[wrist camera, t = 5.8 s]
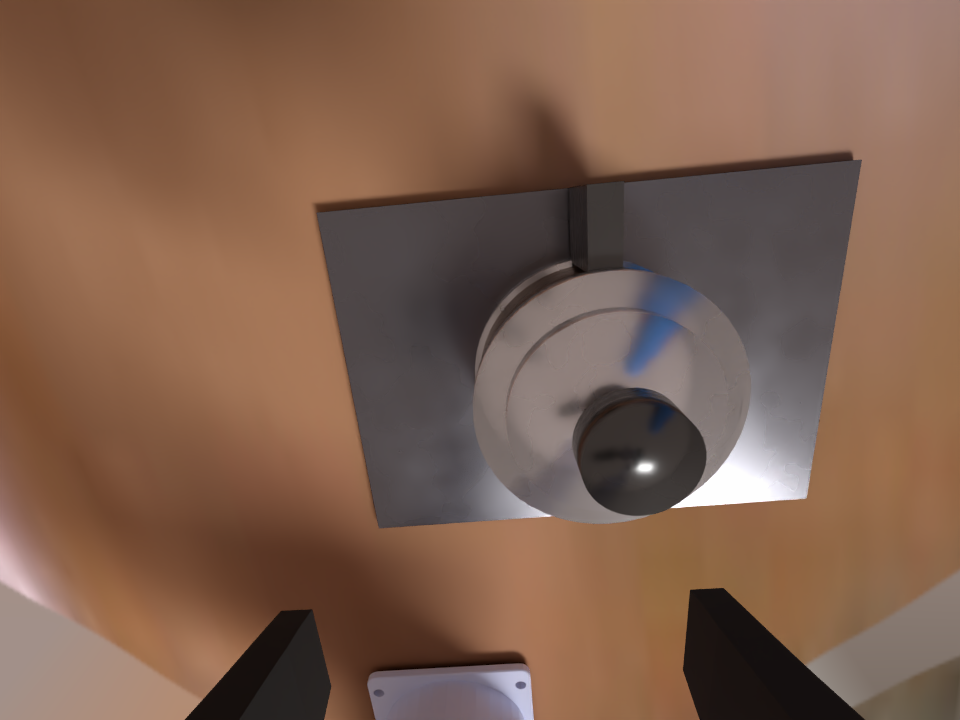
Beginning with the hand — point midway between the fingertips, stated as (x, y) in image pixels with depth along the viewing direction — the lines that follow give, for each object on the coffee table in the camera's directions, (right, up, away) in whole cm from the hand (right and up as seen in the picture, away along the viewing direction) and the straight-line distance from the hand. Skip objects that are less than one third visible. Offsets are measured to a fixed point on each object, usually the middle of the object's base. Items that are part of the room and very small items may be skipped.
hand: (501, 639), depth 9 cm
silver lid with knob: (+4, +4, +5) cm, 7 cm away
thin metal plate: (+4, +5, +9) cm, 11 cm away
